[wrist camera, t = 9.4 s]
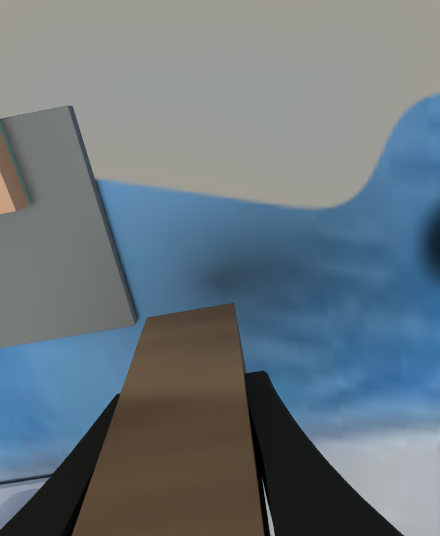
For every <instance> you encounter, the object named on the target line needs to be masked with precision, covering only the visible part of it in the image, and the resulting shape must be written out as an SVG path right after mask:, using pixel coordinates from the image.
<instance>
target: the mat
mask: <svg viewBox="0 0 440 536" xmlns="http://www.w3.org/2000/svg"><path fill="white" fill-rule="evenodd" d="M0 120H1V123H2V125H3V128H4V130H5V133H6V136H7V138H8V141H9V144H10V146H11V149H12V152H13V154H14V157H15V160H16V162H17V165H18V168H19V170H20V173H21V176H22V178H23V181H24V184H25V186H26V189H27V191H28V194H29V197H30V199H31V202H32V204H31V205H29V206H26V207H24V208H22V209H20V210H17V211H14V212H8V213H3V214H0V348H3V347H9V346H15V345H21V344H27V343H33V342H39V341H45V340H50V339H56V338H62V337H68V336H74V335H80V334H86V333H92V332H98V331H104V330H110V329H116V328H122V327H128V326H134V325H135V324H136V322H137V317H136V314H135V311H134V307H133V304H132V301H131V297H130V294H129V291H128V287H127V284H126V281H125V278H124V274H123V271H122V268H121V264H120V261H119V258H118V254H117V251H116V248H115V245H114V241H113V238H112V235H111V231H110V228H109V225H108V221H107V218H106V215H105V212H104V208H103V205H102V202H101V198H100V195H99V192H98V188H97V185H96V182H95V179H94V175H93V172H92V169H91V165H90V162H89V159H88V155H87V152H86V149H85V146H84V142H83V139H82V136H81V132H80V129H79V126H78V123H77V119H76V116H75V113H74V109H73V107H72V106H64V107H58V108H53V109H49V110H43V111H38V112H34V113H29V114H23V115H18V116H13V117H7V118H2V119H0Z"/></svg>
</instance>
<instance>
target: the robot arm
mask: <svg viewBox="0 0 440 536" xmlns="http://www.w3.org/2000/svg"><path fill="white" fill-rule="evenodd" d="M244 377H245V386H246V394H247V401H248V407H249V412H250V417H251V423H252V428H253V433H254V438H255V444H256V449H257V454H258V460H259V465H260V470H261V476H262V480H263V484H264V488H265V492H266V497H267V501H268V505H269V509H270V513H271V517H272V522H273V526H274V532H275V536H404V535H402V534H401V533H400V532H399V531H398V530H397V529H396V528H395V527H394V526H393V525H391V524H390V523H389V522H388V521H387V520H386V519H385V518H384V517H383V516H382V515H381V514H379V513H378V512H377V511H376V510H375V509H374V508H373V507H372V506H371V505H370V504H369V503H367V502H366V501H365V500H364V499H363V498H362V497H361V496H360V495H359V494H358V493H357V492H356V491H355V490H354V489H353V488H352V487H351V486H350V485H349V484H348V483H347V482H346V481H345V480H344V479H343V478H342V476H341V475H340V474H339V473H338V472H337V471H336V470H335V469H334V468H333V467H332V466H331V465H330V463H329V462H328V461H327V460H326V459H325V458H324V457H323V455H322V454H321V453H320V452H319V451H318V450H317V448H316V447H315V446H314V445H313V443H312V442H311V441H310V440H309V438H308V437H307V436H306V435H305V433H304V432H303V431H302V429H301V428H300V427H299V425H298V424H297V423H296V421H295V420H294V418H293V417H292V415H291V414H290V413H289V411H288V410H287V408H286V407H285V405H284V404H283V402H282V400H281V399H280V397H279V395H278V394H277V392H276V390H275V389H274V387H273V385H272V383H271V380H270V378H269V376H268V373H266V372H265V371H259V372H252V373H246V374H244ZM119 397H120V394H117V395H116V396H115V397H114V398H113V400H112V401H111V402H110V403H109V405H108V406H107V407H106V409H105V410H104V411H103V412H102V414H101V415H100V416H99V418H98V419H97V420H96V422H95V423H94V424H93V425H92V427H91V428H90V429H89V431H88V432H87V433H86V434H85V436H84V437H83V438H82V439H81V441H80V442H79V443H78V444H77V446H76V447H75V448H74V449H73V451H72V452H71V453H70V454H69V456H68V457H67V458H66V459H65V460H64V461H63V463H62V464H61V465H60V466H59V467H58V468H57V470H56V471H55V472H54V473H53V474H52V475H51V476H50V477H48V478H41V479H35V480H28V481H21V482H15V483H8V484H2V485H0V536H72V534H73V531H74V528H75V525H76V522H77V519H78V516H79V513H80V510H81V507H82V505H83V502H84V499H85V496H86V493H87V490H88V487H89V484H90V481H91V478H92V475H93V473H94V470H95V467H96V464H97V461H98V458H99V455H100V452H101V449H102V446H103V444H104V441H105V438H106V435H107V432H108V429H109V426H110V423H111V420H112V417H113V415H114V412H115V409H116V406H117V403H118V400H119Z"/></svg>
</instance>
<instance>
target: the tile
mask: <svg viewBox="0 0 440 536" xmlns="http://www.w3.org/2000/svg"><path fill="white" fill-rule="evenodd" d="M31 204H32V202H31V199H30V197H29V194H28V191H27V189H26V186H25V184H24V181H23V178H22V176H21V173H20V170H19V168H18V165H17V162H16V160H15V157H14V154H13V152H12V149H11V146H10V144H9V141H8V138H7V136H6V133H5V130H4V128H3V125H2V123H1V120H0V214H3V213H8V212H14V211H17V210H20V209H22V208H24V207H26V206H29V205H31Z"/></svg>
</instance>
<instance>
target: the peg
mask: <svg viewBox="0 0 440 536" xmlns="http://www.w3.org/2000/svg"><path fill="white" fill-rule="evenodd" d="M244 374H246V367H245V362H244V356H243V351H242V345H241V340H240V334H239V329H238V324H237V318H236V313H235V307H234V303H231V304H225V305H219V306H213V307H207V308H201V309H196V310H190V311H184V312H178V313H172V314H166V315H160V316H154V317H148V318H147V319H146V322H145V325H144V327H143V330H142V333H141V336H140V339H139V342H138V345H137V348H136V351H135V354H134V356H133V359H132V362H131V365H130V368H129V371H128V374H127V377H126V380H125V383H124V385H123V388H122V391H121V394H120V397H119V400H118V403H117V406H116V409H115V412H114V415H113V417H112V420H111V423H110V426H109V429H108V432H107V435H106V438H105V441H104V444H103V446H102V449H101V452H100V455H99V458H98V461H97V464H96V467H95V470H94V473H93V475H92V478H91V481H90V484H89V487H88V490H87V493H86V496H85V499H84V502H83V505H82V507H81V510H80V513H79V516H78V519H77V522H76V525H75V528H74V531H73V534H72V536H270V530H269V523H268V516H267V509H266V503H265V496H264V489H263V482H262V476H261V470H260V465H259V460H258V454H257V449H256V444H255V438H254V433H253V428H252V423H251V417H250V412H249V407H248V401H247V394H246V386H245V377H244Z"/></svg>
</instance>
